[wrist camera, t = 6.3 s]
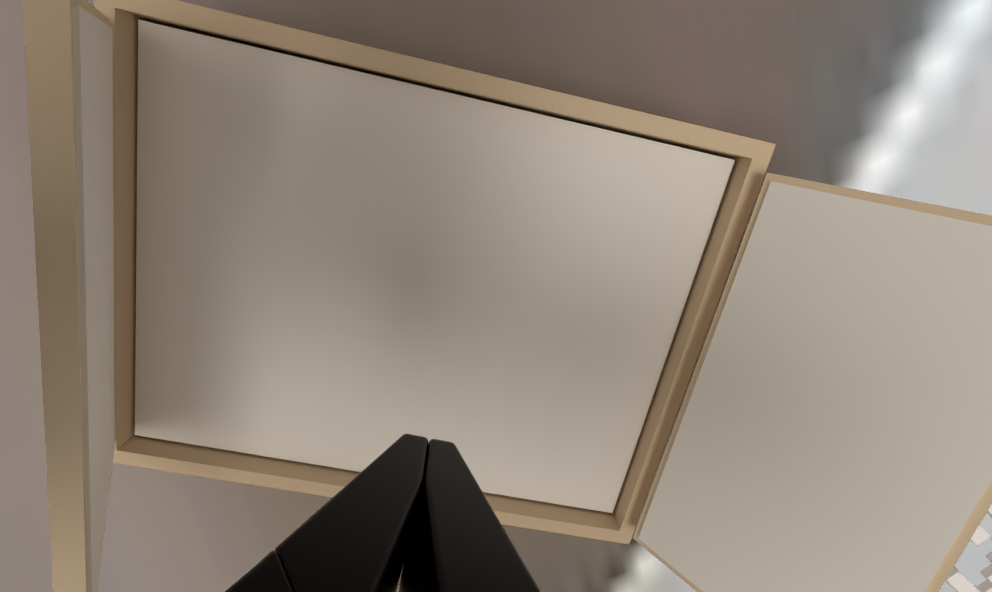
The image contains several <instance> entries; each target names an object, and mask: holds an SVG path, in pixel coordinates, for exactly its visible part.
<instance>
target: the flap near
mask: <svg viewBox="0 0 992 592" xmlns="http://www.w3.org/2000/svg"><path fill="white" fill-rule="evenodd" d="M22 1H23V20H24V39H25V59H26V78H27V97H28V117H29V136H30V155H31V174H32V194H33V213H34V232H35V251H36V271H37V290H38V309H39V329H40V348H41V367H42V386H43V406H44V425H45V444H46V464H47V483H48V502H49V521H50V541H51V560H52V579H53V592H97V589H98V581H99V573H100V565H101V556H102V548H103V540H104V532H105V523H106V515H107V507H108V499H109V491H110V482H111V474H112V466H113V458H114V449H115V396H114V201H113V28H111V27H110V26H109V18H108V17H106V16H105V15H104V14H103V13H101V12H100V11H99V10H98V9H96V8H95V7H94V6H93V5H91V4H90V3H89V2H88V1H86V0H22Z"/></svg>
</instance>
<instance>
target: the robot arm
mask: <svg viewBox="0 0 992 592" xmlns="http://www.w3.org/2000/svg"><path fill="white" fill-rule="evenodd" d="M402 566H403V567H402ZM401 570H402V573H401ZM400 574H401V579H400V588H399V592H540V590H539V588H538V587H537V585H536V583H535V582H534V580H533V578H532V576H531V575H530V573H529V571H528V569H527V568H526V566H525V564H524V563H523V561H522V559H521V557H520V556H519V554H518V552H517V550H516V549H515V547H514V545H513V544H512V542H511V540H510V538H509V537H508V535H507V533H506V532H505V530H504V528H503V526H502V525H501V523H500V521H499V519H498V518H497V516H496V514H495V513H494V511H493V509H492V507H491V506H490V504H489V502H488V500H487V499H486V497H485V495H484V494H483V492H482V490H481V488H480V487H479V485H478V483H477V481H476V480H475V478H474V476H473V475H472V473H471V471H470V469H469V468H468V466H467V464H466V463H465V461H464V459H463V457H462V456H461V454H460V452H459V450H458V449H457V447H456V445H455V444H454V443H452V442H448V441H443V440H438V439H431V440H430V441H429V443H428V439H427V438H426V437H422V436H417V435H412V434H404V435H402V436H401V437H400V438H399V439H398V440H397V441H396V442H394V443H393V444H392V445H391V446H390V447H389V448H388V449H387V450H385V451H384V452H383V453H382V454H381V455H380V456H379V457H378V458H376V459H375V460H374V461H373V462H372V463H371V464H370V465H369V466H367V467H366V468H365V469H364V470H363V471H362V472H361V473H360V474H358V475H357V476H356V477H355V478H354V479H353V480H352V481H351V482H349V483H348V484H347V485H346V486H345V487H344V488H343V489H342V490H340V491H339V492H338V493H337V494H336V495H335V496H334V497H333V498H331V499H330V500H329V501H328V502H327V503H326V504H325V505H324V506H322V507H321V508H320V509H319V510H318V511H317V512H316V513H315V514H313V515H312V516H311V517H310V518H309V519H308V520H307V521H306V522H304V523H303V524H302V525H301V526H300V527H299V528H298V529H297V530H296V531H294V532H293V533H292V534H291V535H290V536H289V537H288V538H287V539H285V540H284V541H283V542H282V543H281V544H280V545H279V546H278V547H276V549H275V551H272V552H270V553H269V554H268V555H267V556H266V557H265V558H264V559H263V560H261V561H260V562H259V563H258V564H257V565H256V566H255V567H254V568H253V569H251V570H250V571H249V572H248V573H247V574H245V575H244V576H243V577H242V578H241V579H240V580H238V581H237V582H236V583H235V584H234V585H232V586H231V587H230V588H229V589H228V590H226V591H225V592H396V589H397V586H398V582H399V578H400Z"/></svg>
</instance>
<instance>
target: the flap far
mask: <svg viewBox="0 0 992 592" xmlns="http://www.w3.org/2000/svg"><path fill="white" fill-rule="evenodd" d="M991 505H992V216H990V215H985V214H980V213H974V212H969V211H964V210H959V209H954V208H948V207H943V206H938V205H933V204H928V203H922V202H917V201H912V200H907V199H902V198H897V197H891V196H886V195H881V194H876V193H871V192H865V191H860V190H855V189H850V188H845V187H839V186H834V185H829V184H824V183H819V182H814V181H808V180H803V179H798V178H793V177H788V176H782V175H777V174H772V173H767V175H766V177H765V180H764V183H763V186H762V188H761V191H760V194H759V196H758V199H757V202H756V205H755V207H754V210H753V213H752V215H751V218H750V221H749V224H748V226H747V229H746V232H745V234H744V237H743V240H742V243H741V245H740V248H739V251H738V253H737V256H736V259H735V262H734V264H733V267H732V270H731V273H730V275H729V278H728V281H727V283H726V286H725V289H724V292H723V294H722V297H721V300H720V302H719V305H718V308H717V311H716V313H715V316H714V319H713V321H712V324H711V327H710V330H709V332H708V335H707V338H706V340H705V343H704V346H703V349H702V351H701V354H700V357H699V359H698V362H697V365H696V368H695V370H694V373H693V376H692V379H691V381H690V384H689V387H688V389H687V392H686V395H685V398H684V400H683V403H682V406H681V408H680V411H679V414H678V417H677V419H676V422H675V425H674V427H673V430H672V433H671V436H670V438H669V441H668V444H667V446H666V449H665V452H664V455H663V457H662V460H661V463H660V466H659V468H658V471H657V474H656V476H655V479H654V482H653V485H652V487H651V490H650V493H649V495H648V498H647V501H646V504H645V506H644V509H643V512H642V514H641V517H640V520H639V523H638V525H637V528H636V531H635V533H634V536H633V539H635V540H636V541H637V542H638V543H639V544H641V545H642V546H643V547H644V548H645V549H647V550H648V551H649V552H650V553H651V554H653V555H654V556H655V557H656V558H657V559H659V560H660V561H661V562H662V563H663V564H665V565H666V566H667V567H668V568H669V569H671V570H672V571H673V572H674V573H675V574H677V575H678V576H679V577H680V578H681V579H683V580H684V581H685V582H686V583H688V584H689V585H690V586H691V587H692V588H694V589H695V590H696V591H697V592H938V591H939V590H940V588H941V586H942V585H943V583H944V582H945V580H946V578H947V577H948V575H949V573H950V572H951V570H952V569H953V567H954V565H955V564H956V562H957V560H958V559H959V557H960V555H961V554H962V552H963V551H964V549H965V547H966V546H967V544H968V542H969V541H970V539H971V537H972V536H973V534H974V533H975V531H976V529H977V528H978V526H979V524H980V523H981V521H982V519H983V518H984V516H985V515H986V513H987V511H988V510H989V508H990V506H991Z"/></svg>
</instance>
